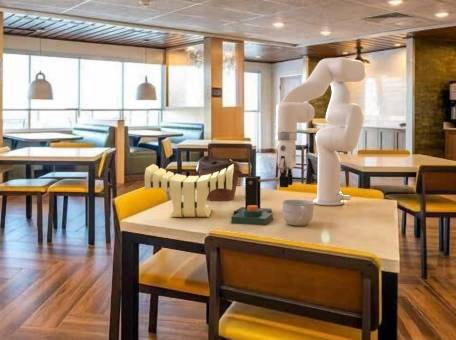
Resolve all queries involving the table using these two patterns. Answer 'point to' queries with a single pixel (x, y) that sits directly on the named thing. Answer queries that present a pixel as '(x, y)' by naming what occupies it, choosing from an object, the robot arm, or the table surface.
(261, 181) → the lever
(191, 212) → the slatted curved stool
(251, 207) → the button
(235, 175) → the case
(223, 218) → the table surface
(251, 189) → the bracket
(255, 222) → the button block
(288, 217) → the teacup
